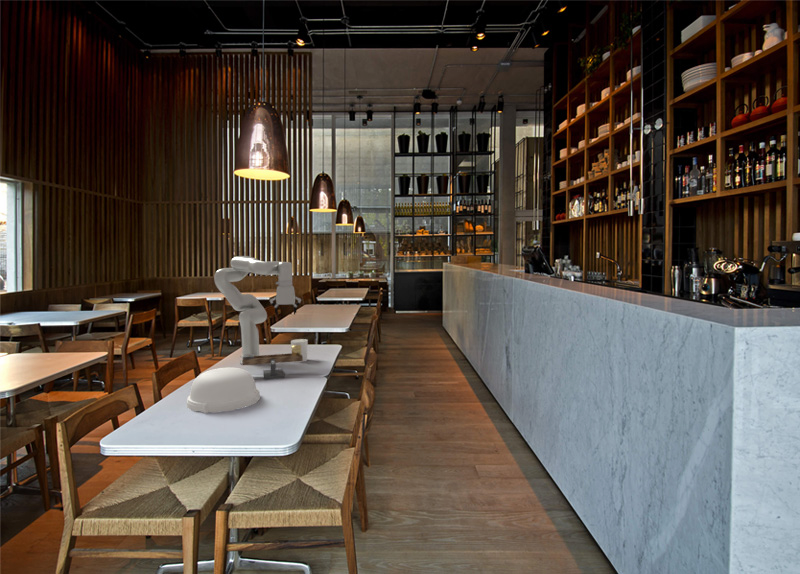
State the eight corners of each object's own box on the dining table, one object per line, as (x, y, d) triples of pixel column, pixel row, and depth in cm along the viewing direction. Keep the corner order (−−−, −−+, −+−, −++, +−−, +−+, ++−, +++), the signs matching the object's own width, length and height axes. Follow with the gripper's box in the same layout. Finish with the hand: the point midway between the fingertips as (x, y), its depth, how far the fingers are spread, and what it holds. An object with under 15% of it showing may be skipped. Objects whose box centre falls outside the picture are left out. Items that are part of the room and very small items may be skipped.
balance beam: (242, 365, 245) (242, 357, 245) (243, 362, 253) (242, 354, 253) (302, 360, 253) (302, 353, 253) (301, 357, 261) (301, 350, 261)
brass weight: (295, 358, 253) (295, 346, 253) (289, 356, 256) (289, 345, 256) (303, 356, 257) (303, 345, 257) (297, 355, 260) (297, 344, 260)
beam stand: (263, 379, 245) (262, 361, 244) (263, 372, 260) (262, 355, 259) (283, 377, 248) (283, 359, 247) (282, 370, 262) (281, 354, 262)
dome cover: (239, 415, 192) (238, 380, 191) (170, 412, 196) (168, 378, 195) (271, 391, 224) (270, 361, 223) (211, 390, 228) (209, 361, 227)
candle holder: (306, 362, 282) (305, 342, 281) (289, 362, 282) (288, 342, 281) (309, 358, 292) (309, 339, 291) (293, 358, 292) (293, 339, 291)
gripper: (269, 284, 264) (269, 315, 266) (301, 284, 269) (301, 314, 270) (269, 283, 272) (269, 313, 273) (300, 283, 276) (301, 313, 277)
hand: (285, 314), depth 272 cm, fingers open, 9 cm apart
